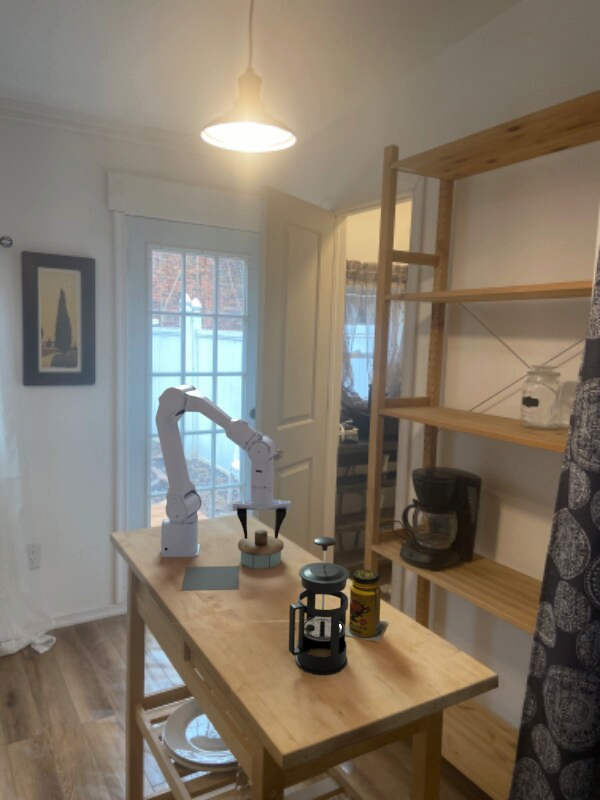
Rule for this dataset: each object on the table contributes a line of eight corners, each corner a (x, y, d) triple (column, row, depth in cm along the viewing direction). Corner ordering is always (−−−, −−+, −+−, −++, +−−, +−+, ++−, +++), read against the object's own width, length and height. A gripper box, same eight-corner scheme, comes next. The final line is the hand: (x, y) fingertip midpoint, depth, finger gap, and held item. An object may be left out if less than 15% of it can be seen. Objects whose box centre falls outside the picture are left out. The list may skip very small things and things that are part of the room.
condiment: (342, 635, 118) (344, 577, 117) (353, 616, 126) (355, 561, 124) (378, 643, 116) (381, 584, 114) (387, 622, 124) (390, 567, 122)
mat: (181, 591, 135) (181, 590, 135) (186, 567, 148) (186, 566, 148) (238, 590, 136) (238, 589, 136) (239, 567, 149) (238, 565, 149)
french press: (333, 641, 116) (337, 526, 113) (360, 666, 107) (365, 543, 104) (278, 656, 110) (281, 535, 107) (302, 683, 102) (306, 554, 99)
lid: (236, 555, 146) (236, 540, 146) (239, 538, 158) (239, 524, 158) (283, 555, 147) (284, 540, 147) (283, 538, 158) (283, 524, 158)
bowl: (241, 569, 148) (241, 554, 147) (240, 553, 158) (241, 539, 157) (281, 568, 149) (281, 553, 148) (278, 553, 159) (279, 538, 158)
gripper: (232, 489, 146) (232, 543, 148) (292, 489, 147) (290, 542, 149) (233, 482, 153) (232, 533, 155) (289, 481, 154) (288, 532, 156)
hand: (261, 537), depth 152 cm, fingers open, 7 cm apart
